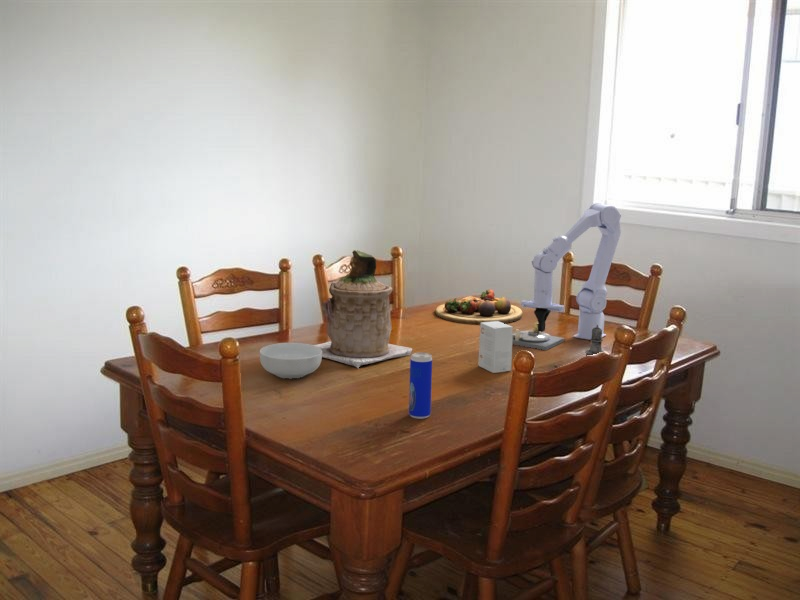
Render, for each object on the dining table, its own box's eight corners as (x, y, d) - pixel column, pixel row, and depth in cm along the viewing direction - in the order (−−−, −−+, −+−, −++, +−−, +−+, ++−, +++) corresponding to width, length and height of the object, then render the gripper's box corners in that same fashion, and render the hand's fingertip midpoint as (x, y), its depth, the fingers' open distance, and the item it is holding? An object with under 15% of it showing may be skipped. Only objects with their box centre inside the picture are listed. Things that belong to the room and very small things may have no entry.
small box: (511, 371, 241) (513, 326, 238) (492, 373, 238) (494, 328, 236) (496, 363, 248) (498, 320, 245) (477, 366, 245) (479, 322, 243)
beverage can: (407, 412, 205) (409, 352, 201) (429, 412, 205) (431, 352, 202) (409, 419, 200) (411, 357, 196) (431, 419, 200) (433, 358, 197)
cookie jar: (415, 354, 256) (418, 249, 250) (357, 370, 238) (358, 257, 232) (358, 339, 273) (360, 240, 266) (300, 352, 255) (300, 247, 248)
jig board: (519, 333, 284) (520, 319, 283) (564, 341, 275) (565, 327, 274) (500, 342, 273) (500, 327, 272) (545, 350, 264) (546, 335, 263)
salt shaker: (605, 367, 247) (608, 327, 244) (584, 366, 248) (587, 326, 246) (604, 362, 252) (607, 323, 250) (584, 360, 254) (587, 321, 251)
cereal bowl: (271, 387, 221) (271, 361, 220) (251, 370, 236) (251, 345, 234) (331, 379, 229) (331, 354, 228) (308, 363, 243) (308, 339, 242)
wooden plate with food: (465, 302, 334) (465, 282, 332) (537, 313, 315) (538, 292, 314) (418, 317, 309) (418, 295, 307) (494, 330, 290) (495, 307, 288)
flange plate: (508, 332, 280) (509, 320, 279) (548, 334, 279) (548, 322, 278) (510, 340, 269) (510, 328, 268) (551, 342, 268) (552, 330, 267)
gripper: (517, 289, 274) (515, 330, 277) (558, 294, 266) (557, 336, 269) (526, 286, 280) (525, 326, 283) (567, 291, 272) (566, 332, 275)
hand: (541, 331), depth 277 cm, fingers closed, pressing on flange plate
